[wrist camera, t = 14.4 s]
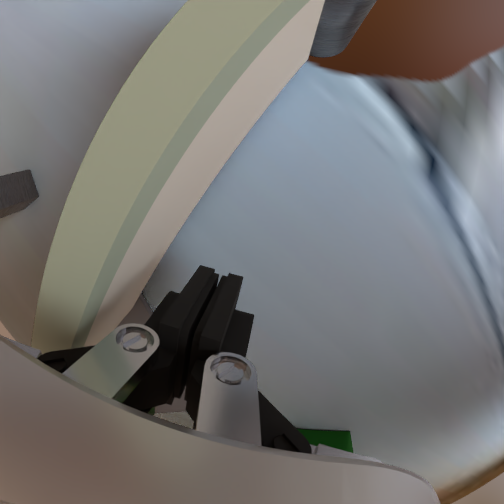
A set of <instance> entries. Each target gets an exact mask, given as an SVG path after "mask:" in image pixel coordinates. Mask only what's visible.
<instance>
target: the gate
mask: <svg viewBox="0 0 504 504" xmlns="http://www.w3.org/2000/svg"><path fill="white" fill-rule="evenodd" d="M324 2H325V0H188V1H187V2H186V3H185V4H184V5H183V7H182V8H181V9H180V10H179V11H178V12H177V13H176V15H175V16H174V17H173V18H172V19H171V20H170V22H169V23H168V24H167V25H166V26H165V28H164V29H163V30H162V31H161V33H160V34H159V35H158V37H157V38H156V39H155V40H154V42H153V43H152V44H151V46H150V47H149V48H148V50H147V51H146V53H145V54H144V55H143V57H142V58H141V60H140V61H139V62H138V64H137V65H136V67H135V68H134V70H133V71H132V73H131V74H130V76H129V77H128V79H127V80H126V82H125V83H124V85H123V87H122V88H121V90H120V91H119V93H118V95H117V96H116V98H115V100H114V101H113V103H112V105H111V107H110V108H109V110H108V112H107V114H106V116H105V117H104V119H103V121H102V123H101V125H100V127H99V129H98V130H97V132H96V134H95V136H94V138H93V140H92V142H91V144H90V146H89V148H88V151H87V153H86V155H85V157H84V159H83V161H82V164H81V166H80V168H79V170H78V173H77V175H76V177H75V180H74V182H73V185H72V187H71V190H70V192H69V195H68V197H67V200H66V203H65V205H64V208H63V211H62V214H61V217H60V220H59V223H58V226H57V229H56V232H55V235H54V238H53V241H52V245H51V248H50V252H49V255H48V259H47V263H46V267H45V271H44V275H43V279H42V283H41V288H40V293H39V297H38V303H37V308H36V314H35V320H34V326H33V333H32V340H31V347H32V348H35V349H38V350H41V352H42V354H44V353H47V352H51V351H58V350H65V349H73V348H80V347H87V346H93V345H96V344H98V343H99V342H100V341H101V340H102V339H104V338H105V337H106V336H107V335H108V334H110V333H111V332H112V331H113V330H114V329H115V328H116V327H117V326H118V325H119V323H120V322H121V321H122V320H123V319H124V317H125V316H126V315H127V314H128V313H129V312H130V310H131V309H132V308H133V306H134V304H135V303H136V301H137V299H138V297H139V296H140V294H141V292H142V290H143V289H144V287H145V285H146V284H147V282H148V280H149V279H150V277H151V275H152V274H153V272H154V270H155V269H156V267H157V265H158V264H159V262H160V260H161V259H162V257H163V256H164V254H165V252H166V251H167V249H168V248H169V246H170V244H171V243H172V241H173V240H174V238H175V237H176V235H177V233H178V232H179V230H180V229H181V227H182V226H183V224H184V223H185V221H186V220H187V218H188V217H189V215H190V214H191V212H192V211H193V209H194V208H195V206H196V205H197V203H198V202H199V200H200V199H201V197H202V196H203V194H204V193H205V191H206V190H207V189H208V187H209V186H210V184H211V183H212V181H213V180H214V178H215V177H216V176H217V174H218V173H219V171H220V170H221V169H222V167H223V166H224V164H225V163H226V162H227V160H228V159H229V158H230V156H231V155H232V153H233V152H234V151H235V149H236V148H237V147H238V145H239V144H240V143H241V141H242V140H243V139H244V137H245V136H246V135H247V133H248V132H249V131H250V129H251V128H252V127H253V126H254V124H255V123H256V122H257V120H258V119H259V118H260V117H261V115H262V114H263V113H264V111H265V110H266V109H267V108H268V106H269V105H270V104H271V103H272V101H273V100H274V99H275V98H276V96H277V95H278V94H279V93H280V92H281V90H282V89H283V88H284V87H285V85H286V84H287V83H288V82H289V81H290V79H291V78H292V77H293V76H294V75H295V74H296V72H297V71H298V70H299V69H300V68H301V67H302V65H303V64H304V63H305V62H306V61H307V60H308V58H309V54H310V51H311V47H312V44H313V40H314V37H315V33H316V30H317V26H318V23H319V19H320V16H321V12H322V9H323V5H324Z"/></svg>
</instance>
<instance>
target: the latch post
mask: <svg viewBox="0 0 504 504" xmlns="http://www.w3.org/2000/svg"><path fill="white" fill-rule="evenodd" d="M38 197H39V195H38V192H37V189H36V186H35V184H34V181H33V178H32V174H31V171H30V170H25V171H21V172H16V173H12V174H8V175H4V176H0V218H2V217H5V216H7V215H10V214H13V213H15V212H18V211H20V210H23V209H25V208H26V207H27V206H29V205H30V204H31V203H32V202H33V201H34V200H35V199H36V198H38Z"/></svg>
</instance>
